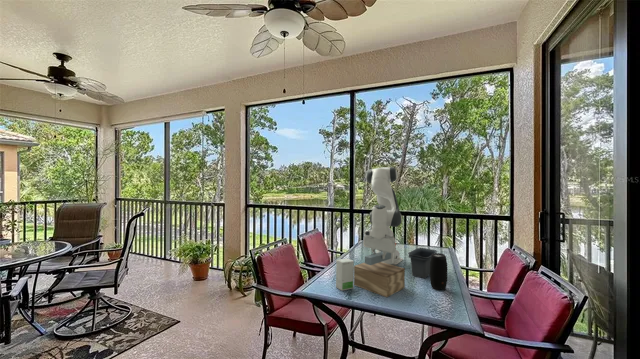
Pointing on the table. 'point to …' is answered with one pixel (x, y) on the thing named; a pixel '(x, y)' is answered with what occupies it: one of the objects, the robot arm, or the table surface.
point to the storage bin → (421, 261)
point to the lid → (380, 269)
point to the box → (379, 282)
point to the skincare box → (344, 274)
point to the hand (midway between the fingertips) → (378, 257)
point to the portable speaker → (438, 271)
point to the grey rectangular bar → (376, 258)
